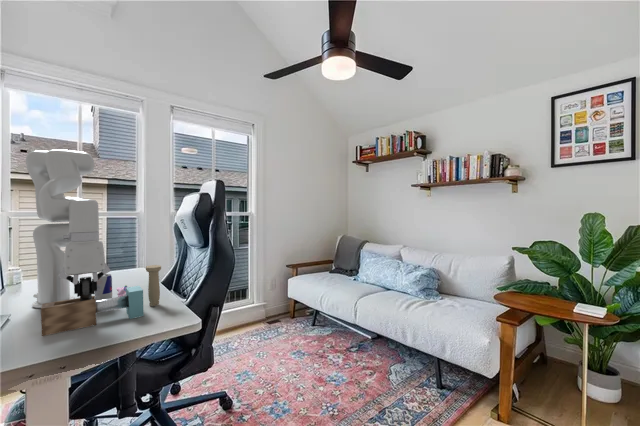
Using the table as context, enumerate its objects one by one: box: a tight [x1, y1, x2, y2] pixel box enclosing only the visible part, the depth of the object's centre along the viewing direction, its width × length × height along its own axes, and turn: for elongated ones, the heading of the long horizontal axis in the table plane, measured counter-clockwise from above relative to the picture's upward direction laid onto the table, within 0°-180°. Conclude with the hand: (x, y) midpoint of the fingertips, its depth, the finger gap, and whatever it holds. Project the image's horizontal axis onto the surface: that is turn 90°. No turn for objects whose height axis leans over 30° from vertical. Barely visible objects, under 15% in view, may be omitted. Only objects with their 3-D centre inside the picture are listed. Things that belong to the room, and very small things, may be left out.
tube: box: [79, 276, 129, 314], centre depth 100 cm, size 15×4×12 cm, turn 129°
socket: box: [125, 285, 145, 320], centre depth 105 cm, size 4×8×9 cm, turn 40°
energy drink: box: [94, 273, 113, 301], centre depth 114 cm, size 5×5×12 cm
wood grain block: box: [40, 295, 97, 337], centre depth 94 cm, size 13×6×8 cm, turn 129°
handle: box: [145, 264, 162, 307], centre depth 115 cm, size 5×6×15 cm
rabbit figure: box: [116, 284, 128, 297], centre depth 126 cm, size 6×6×15 cm
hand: (85, 294), depth 97 cm, fingers closed on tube, 3 cm apart
